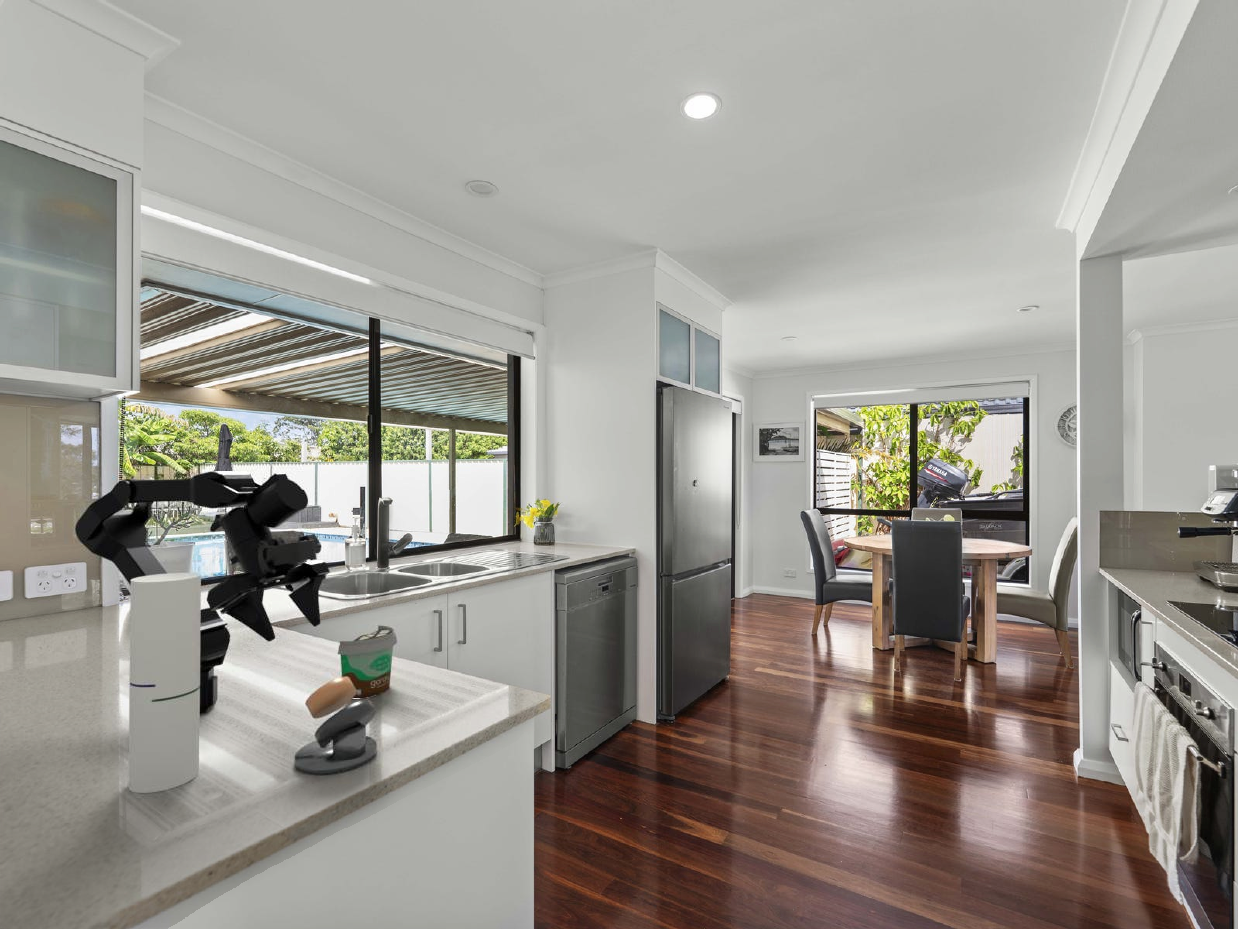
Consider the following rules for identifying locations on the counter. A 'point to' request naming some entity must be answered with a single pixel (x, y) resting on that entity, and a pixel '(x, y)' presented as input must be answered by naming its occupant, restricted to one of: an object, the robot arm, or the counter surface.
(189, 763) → the cylindrical container
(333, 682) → the button cap
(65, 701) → the counter surface
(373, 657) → the food container
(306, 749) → the button post
